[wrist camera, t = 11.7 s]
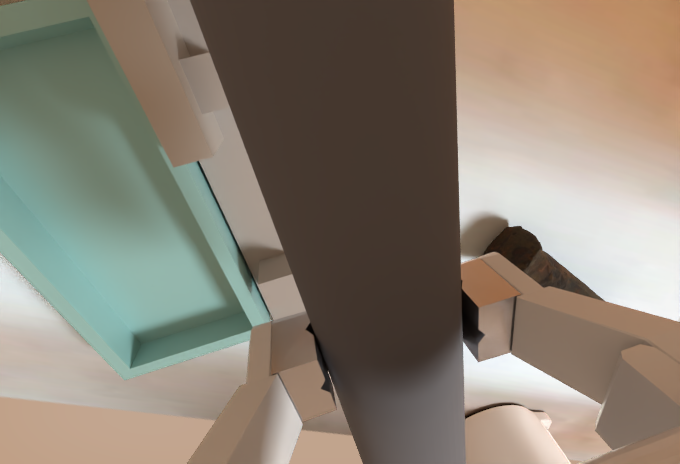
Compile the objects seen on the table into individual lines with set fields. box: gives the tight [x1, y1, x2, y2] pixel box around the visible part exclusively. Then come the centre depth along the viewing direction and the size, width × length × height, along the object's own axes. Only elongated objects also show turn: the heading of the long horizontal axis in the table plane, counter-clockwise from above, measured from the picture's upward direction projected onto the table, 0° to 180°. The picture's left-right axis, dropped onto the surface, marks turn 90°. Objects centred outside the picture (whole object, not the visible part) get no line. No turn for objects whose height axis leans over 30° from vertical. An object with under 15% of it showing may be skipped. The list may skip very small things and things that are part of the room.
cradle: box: [87, 0, 306, 320], centre depth 16 cm, size 22×11×5 cm, turn 13°
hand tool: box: [484, 226, 606, 302], centre depth 26 cm, size 19×4×5 cm, turn 53°
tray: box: [0, 0, 270, 380], centre depth 16 cm, size 19×10×3 cm, turn 13°
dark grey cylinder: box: [190, 0, 466, 464], centre depth 8 cm, size 14×4×4 cm, turn 12°
